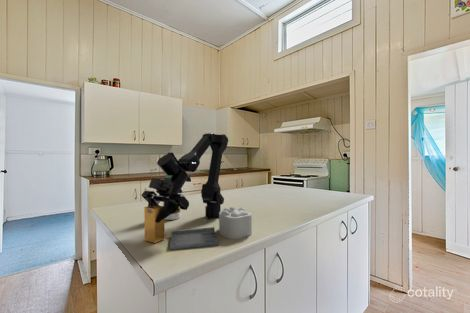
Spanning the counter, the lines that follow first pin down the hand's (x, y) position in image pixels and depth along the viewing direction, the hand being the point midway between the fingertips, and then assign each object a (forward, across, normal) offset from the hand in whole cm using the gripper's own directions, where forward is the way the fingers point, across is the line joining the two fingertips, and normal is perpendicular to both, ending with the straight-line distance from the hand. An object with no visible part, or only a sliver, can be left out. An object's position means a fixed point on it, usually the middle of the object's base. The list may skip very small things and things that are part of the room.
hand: (151, 220), depth 73 cm
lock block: (+4, 0, +6) cm, 7 cm away
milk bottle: (-12, -15, +22) cm, 29 cm away
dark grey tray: (-1, +12, +10) cm, 16 cm away
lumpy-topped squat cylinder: (-10, +19, +21) cm, 30 cm away
